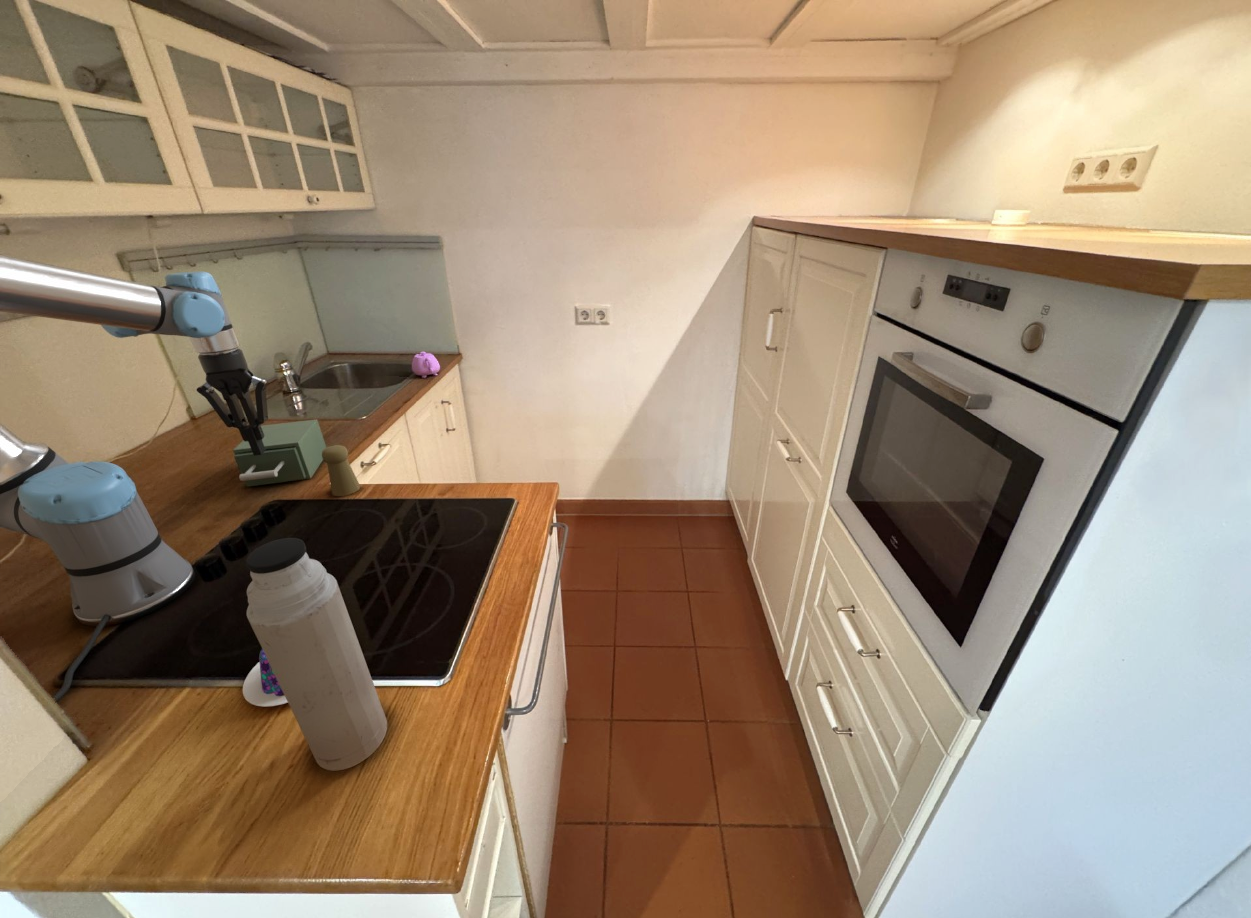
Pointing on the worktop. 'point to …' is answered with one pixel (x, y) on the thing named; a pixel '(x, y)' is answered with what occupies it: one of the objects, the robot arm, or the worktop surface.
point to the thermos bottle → (314, 653)
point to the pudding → (263, 685)
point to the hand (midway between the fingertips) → (260, 452)
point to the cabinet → (293, 443)
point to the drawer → (270, 466)
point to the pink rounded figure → (425, 364)
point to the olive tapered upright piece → (340, 471)
